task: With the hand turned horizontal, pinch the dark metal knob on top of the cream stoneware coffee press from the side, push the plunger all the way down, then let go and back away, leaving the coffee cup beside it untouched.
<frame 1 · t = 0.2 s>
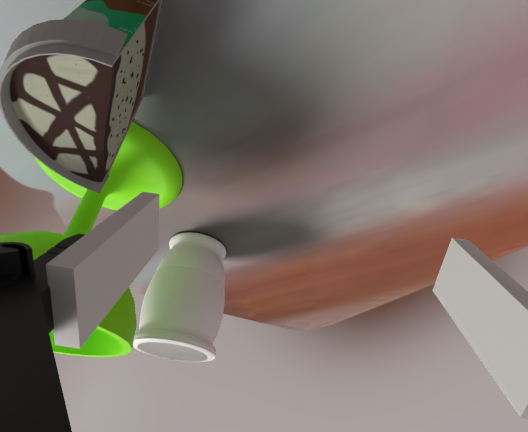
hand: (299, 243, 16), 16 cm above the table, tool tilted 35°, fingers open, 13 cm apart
jar: (198, 245, 51), on the table
wineglass: (110, 164, 38), on the table
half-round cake: (111, 31, 26), on the table
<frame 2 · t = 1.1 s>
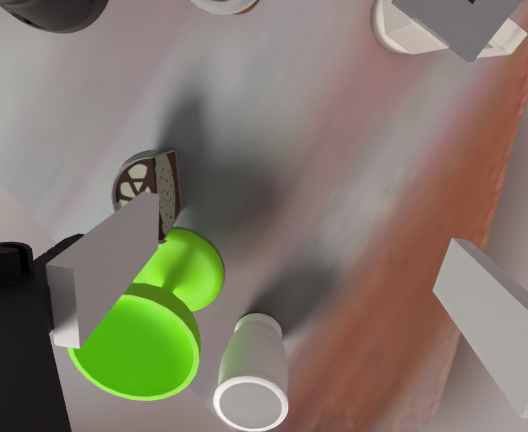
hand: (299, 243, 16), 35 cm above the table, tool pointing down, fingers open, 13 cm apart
press pot: (408, 13, 42), on the table
jar: (258, 330, 61), on the table
wineglass: (177, 271, 58), on the table
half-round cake: (159, 179, 52), on the table
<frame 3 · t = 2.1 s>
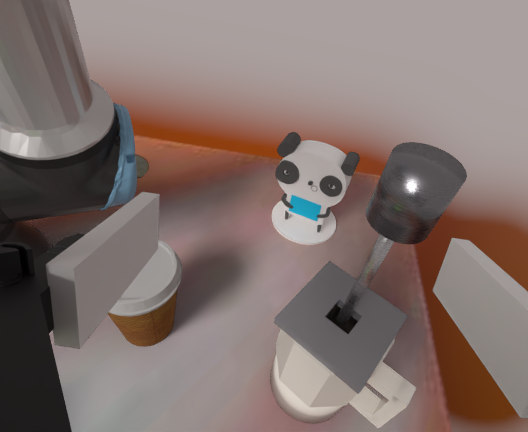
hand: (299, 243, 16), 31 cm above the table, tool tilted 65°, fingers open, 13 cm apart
press pot: (307, 380, 41), on the table
plunger: (374, 260, 25), point 24 cm above the table, slide at 0.0 cm
panda figurine: (301, 219, 61), on the table
soupspoon: (90, 166, 65), on the table
disposable coffee cup: (148, 323, 44), on the table
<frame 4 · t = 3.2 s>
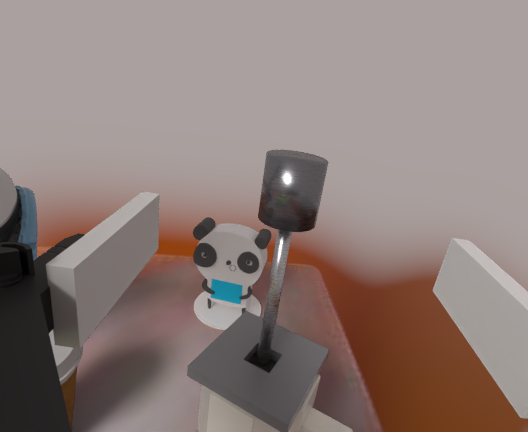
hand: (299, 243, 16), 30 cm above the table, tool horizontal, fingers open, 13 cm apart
plunger: (277, 271, 25), point 24 cm above the table, slide at 0.0 cm
panda figurine: (225, 308, 59), on the table
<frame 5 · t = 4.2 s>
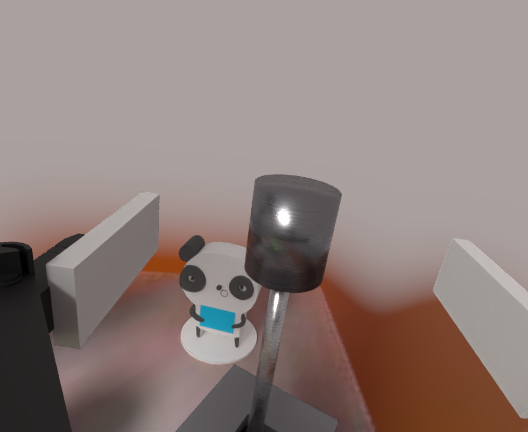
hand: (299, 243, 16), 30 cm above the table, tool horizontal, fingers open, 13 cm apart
plunger: (271, 335, 19), point 24 cm above the table, slide at 0.0 cm
panda figurine: (217, 335, 52), on the table
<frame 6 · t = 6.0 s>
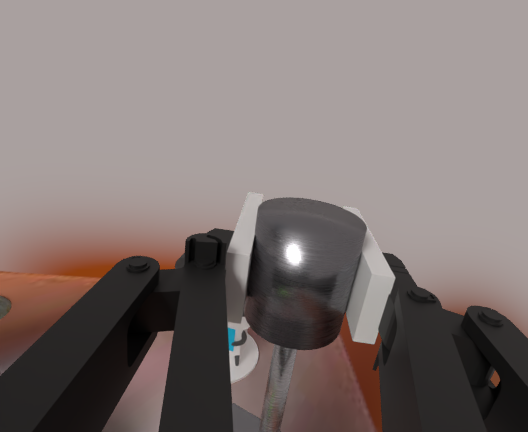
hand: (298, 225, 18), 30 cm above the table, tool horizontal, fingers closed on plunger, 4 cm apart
plunger: (277, 389, 16), point 24 cm above the table, slide at 0.0 cm, touching gripper
panda figurine: (216, 352, 49), on the table
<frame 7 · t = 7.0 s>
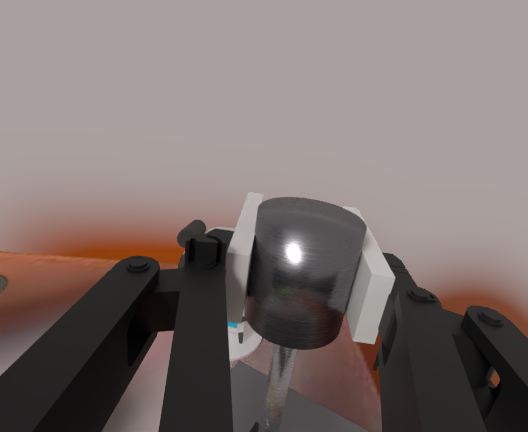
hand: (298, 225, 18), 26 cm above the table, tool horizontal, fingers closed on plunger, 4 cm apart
plunger: (277, 388, 16), point 20 cm above the table, slide at 3.8 cm, touching gripper
panda figurine: (219, 330, 48), on the table
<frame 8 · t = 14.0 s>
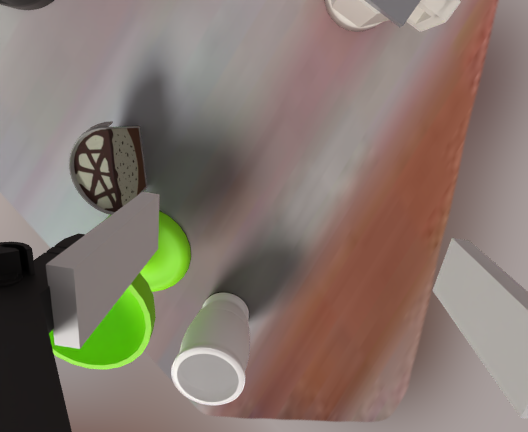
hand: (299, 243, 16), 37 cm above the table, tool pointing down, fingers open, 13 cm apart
jar: (226, 311, 62), on the table
wineglass: (144, 249, 59), on the table
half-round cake: (124, 157, 53), on the table
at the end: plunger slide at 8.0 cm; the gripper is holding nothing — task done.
